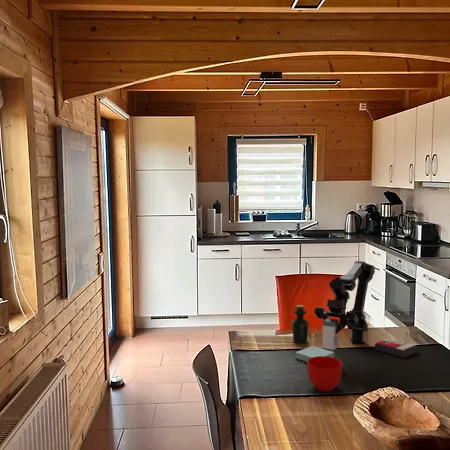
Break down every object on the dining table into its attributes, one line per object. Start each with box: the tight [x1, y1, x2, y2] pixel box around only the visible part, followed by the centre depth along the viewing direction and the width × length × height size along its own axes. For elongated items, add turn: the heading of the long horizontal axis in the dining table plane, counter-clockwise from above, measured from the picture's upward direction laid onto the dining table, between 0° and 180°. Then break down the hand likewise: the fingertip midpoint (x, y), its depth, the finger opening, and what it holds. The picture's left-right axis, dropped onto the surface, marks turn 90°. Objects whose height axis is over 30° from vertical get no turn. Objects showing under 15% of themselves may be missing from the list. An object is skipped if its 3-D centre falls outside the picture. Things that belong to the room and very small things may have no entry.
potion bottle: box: [291, 304, 310, 345], centre depth 232 cm, size 8×8×18 cm
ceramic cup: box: [306, 356, 343, 392], centre depth 181 cm, size 13×17×10 cm
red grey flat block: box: [374, 338, 418, 359], centre depth 218 cm, size 11×4×15 cm
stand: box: [295, 345, 335, 363], centre depth 209 cm, size 12×12×3 cm
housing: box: [322, 317, 339, 351], centre depth 204 cm, size 5×5×12 cm
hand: (330, 332), depth 204 cm, fingers closed on housing, 5 cm apart
